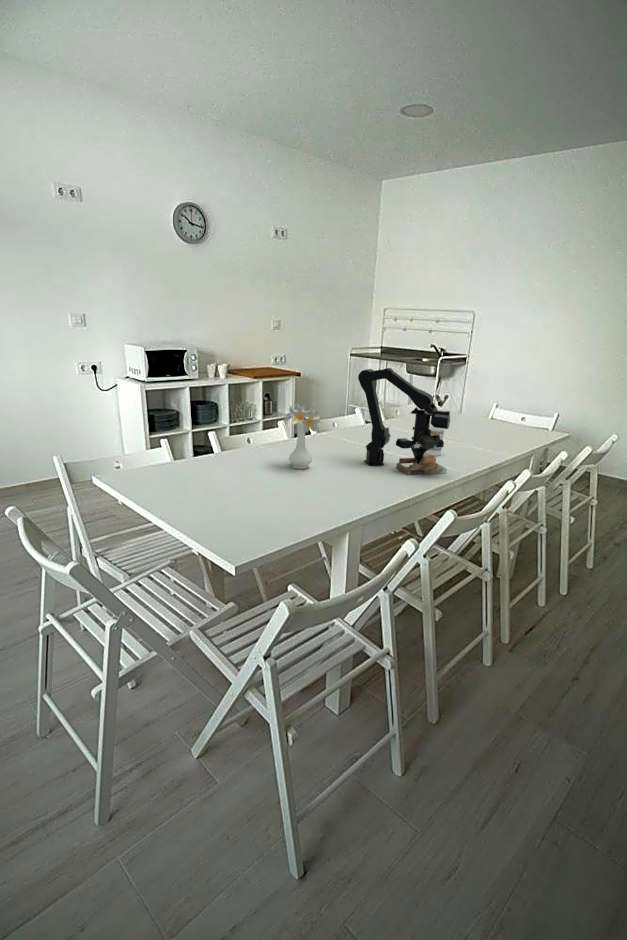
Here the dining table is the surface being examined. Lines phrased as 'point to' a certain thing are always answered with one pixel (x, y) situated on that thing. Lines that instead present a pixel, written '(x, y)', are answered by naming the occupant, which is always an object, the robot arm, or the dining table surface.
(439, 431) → the bath foam
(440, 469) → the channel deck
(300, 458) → the flower vase
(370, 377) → the robot arm
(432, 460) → the block
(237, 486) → the dining table surface
